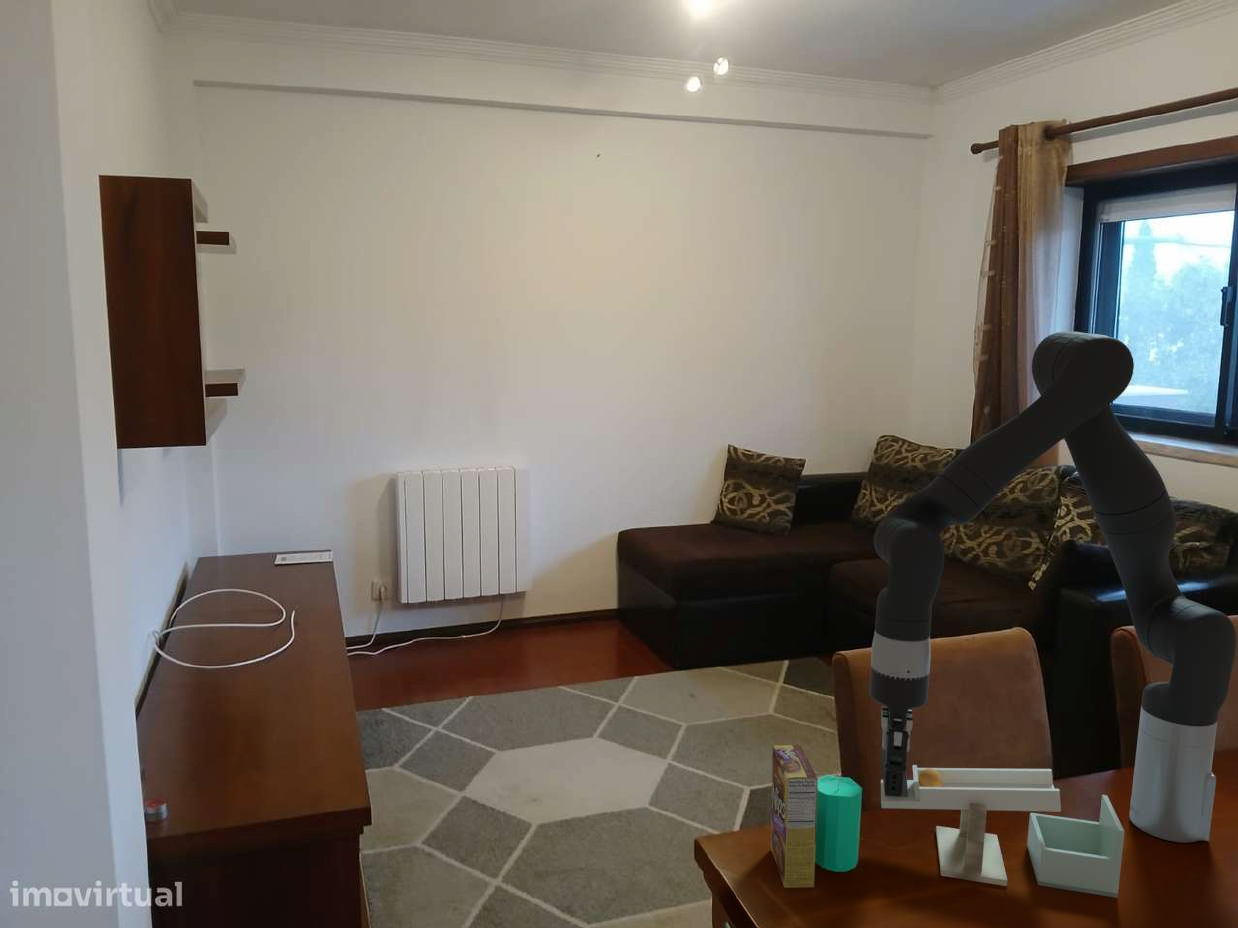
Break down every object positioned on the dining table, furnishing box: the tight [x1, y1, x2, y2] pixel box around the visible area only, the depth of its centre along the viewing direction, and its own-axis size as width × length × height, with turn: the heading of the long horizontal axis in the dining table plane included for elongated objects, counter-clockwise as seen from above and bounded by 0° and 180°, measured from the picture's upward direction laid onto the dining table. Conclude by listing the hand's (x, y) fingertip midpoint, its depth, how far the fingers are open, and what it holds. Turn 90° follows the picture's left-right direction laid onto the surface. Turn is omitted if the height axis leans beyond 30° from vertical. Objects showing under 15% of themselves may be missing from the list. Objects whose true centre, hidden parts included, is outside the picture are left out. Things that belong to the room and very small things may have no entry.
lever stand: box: [935, 803, 1008, 887], centre depth 124 cm, size 8×11×10 cm
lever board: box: [880, 742, 1062, 813], centre depth 123 cm, size 22×7×8 cm, turn 74°
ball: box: [918, 769, 942, 787], centre depth 124 cm, size 3×3×3 cm
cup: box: [1026, 794, 1125, 899], centre depth 121 cm, size 9×9×9 cm
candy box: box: [770, 744, 819, 889], centre depth 120 cm, size 9×4×15 cm, turn 2°
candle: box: [815, 774, 863, 873], centre depth 123 cm, size 6×6×12 cm
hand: (892, 782), depth 126 cm, fingers open, 5 cm apart
